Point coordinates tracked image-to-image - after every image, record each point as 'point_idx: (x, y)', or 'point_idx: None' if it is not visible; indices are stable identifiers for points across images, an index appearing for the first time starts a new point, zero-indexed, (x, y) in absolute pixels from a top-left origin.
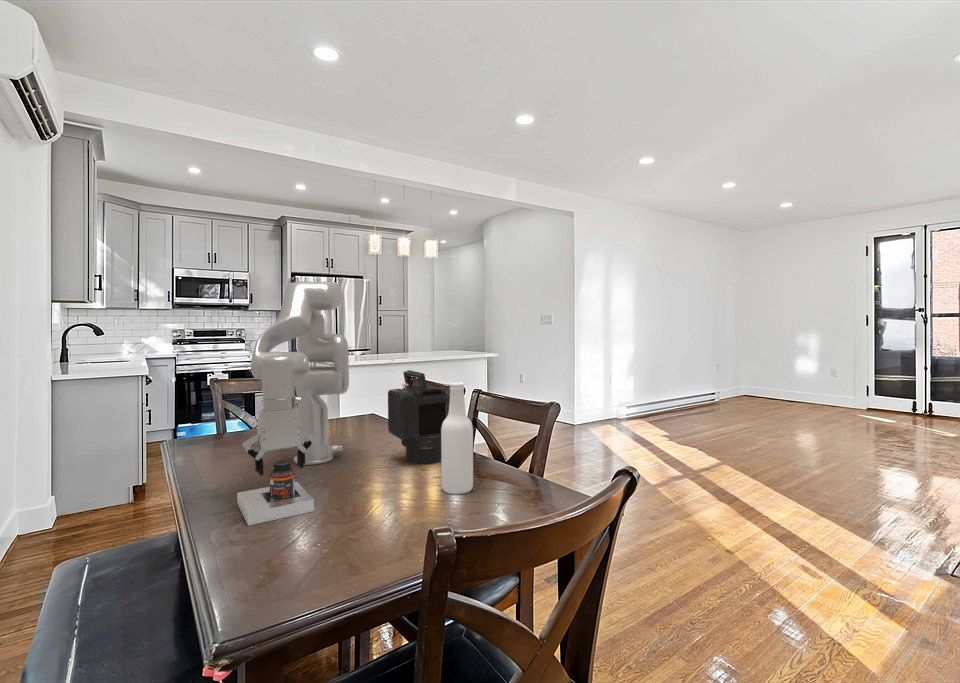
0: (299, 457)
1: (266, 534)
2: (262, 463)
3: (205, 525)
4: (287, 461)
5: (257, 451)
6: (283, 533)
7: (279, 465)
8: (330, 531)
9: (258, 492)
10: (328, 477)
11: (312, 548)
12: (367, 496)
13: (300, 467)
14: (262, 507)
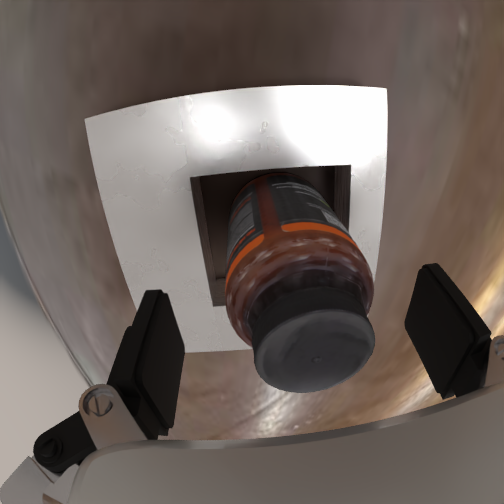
0: (433, 362)
1: (209, 379)
2: (172, 409)
3: (52, 269)
4: (357, 352)
5: (108, 445)
6: (246, 387)
7: (285, 387)
8: (333, 402)
9: (178, 158)
10: (484, 10)
11: (282, 432)
12: (493, 263)
13: (405, 328)
14: (196, 335)
